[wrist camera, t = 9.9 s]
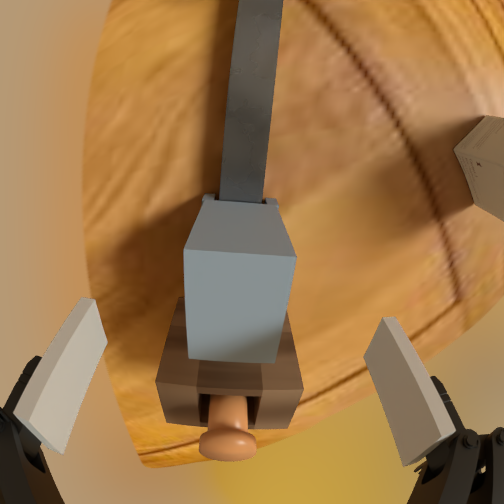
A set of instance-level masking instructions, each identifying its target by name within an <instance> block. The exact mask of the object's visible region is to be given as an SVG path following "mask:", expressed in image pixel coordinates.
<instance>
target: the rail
mask: <svg viewBox="0 0 504 504" xmlns="http://www.w3.org/2000/svg"><path fill="white" fill-rule="evenodd" d="M282 8H283V0H239V5H238V12H237V19H236V27H235V34H234V42H233V51H232V59H231V68H230V77H229V87H228V96H227V107H226V117H225V129H224V141H223V153H222V166H221V180H220V196H219V201H231V202H244V203H257V204H262V196H263V187H264V178H265V169H266V160H267V150H268V141H269V132H270V123H271V113H272V104H273V95H274V85H275V76H276V66H277V57H278V47H279V37H280V28H281V18H282Z"/></svg>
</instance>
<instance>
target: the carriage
mask: <svg viewBox="0 0 504 504" xmlns="http://www.w3.org/2000/svg"><path fill="white" fill-rule="evenodd" d="M278 208H279V205H278V203H277V200H276V199H274V198H265V204H257V203H244V202H231V201H216V200H215V194H207V193H205V195H204V197H203V199H202V207H201V209H200V212H199V214H198V216H197V219H196V221H195V223H194V226H193V228H192V230H191V233H190V235H189V237H188V240H187V242H186V244H185V247H184V288H185V311H186V329H187V343H188V356H189V359H198V360H210V361H224V362H244V363H275V360H276V356H277V351H278V347H279V342H280V338H281V333H282V329H283V324H284V319H285V314H286V310H287V305H288V300H289V295H290V290H291V285H292V280H293V274H294V269H295V264H296V258H297V256H296V254H295V251H294V249H293V246H292V244H291V241H290V238H289V236H288V233H287V231H286V228H285V226H284V224H283V221H282V219H281V216H280V214H279V211H278Z"/></svg>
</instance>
